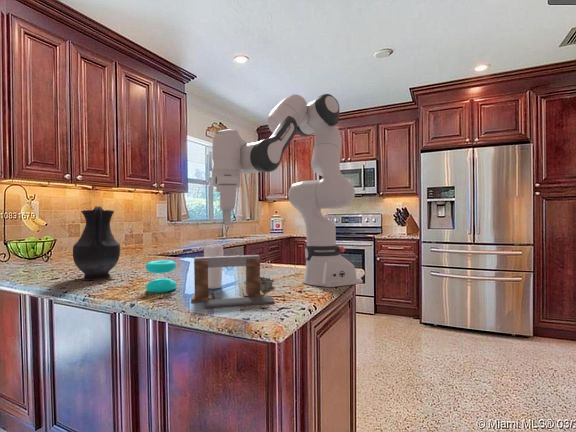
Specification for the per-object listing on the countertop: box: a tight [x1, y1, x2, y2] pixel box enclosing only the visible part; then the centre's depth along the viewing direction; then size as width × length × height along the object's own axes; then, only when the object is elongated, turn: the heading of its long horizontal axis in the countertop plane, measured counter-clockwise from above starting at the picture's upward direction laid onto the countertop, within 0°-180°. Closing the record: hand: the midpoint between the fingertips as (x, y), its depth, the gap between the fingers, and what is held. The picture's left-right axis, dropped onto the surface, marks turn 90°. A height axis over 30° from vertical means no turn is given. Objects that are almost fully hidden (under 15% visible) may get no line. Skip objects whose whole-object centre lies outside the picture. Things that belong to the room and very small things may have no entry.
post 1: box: [190, 260, 213, 303], centre depth 104 cm, size 6×6×12 cm
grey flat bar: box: [204, 295, 276, 310], centre depth 99 cm, size 20×7×1 cm, turn 103°
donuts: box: [145, 259, 177, 294], centre depth 117 cm, size 10×10×10 cm
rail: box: [193, 254, 261, 268], centre depth 105 cm, size 20×3×3 cm, turn 103°
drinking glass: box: [203, 244, 224, 290], centre depth 120 cm, size 7×7×15 cm
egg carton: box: [243, 276, 275, 293], centre depth 118 cm, size 11×8×4 cm
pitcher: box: [72, 205, 121, 281], centre depth 139 cm, size 17×21×30 cm
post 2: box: [242, 258, 265, 298], centre depth 107 cm, size 6×6×12 cm
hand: (226, 225), depth 105 cm, fingers open, 8 cm apart
